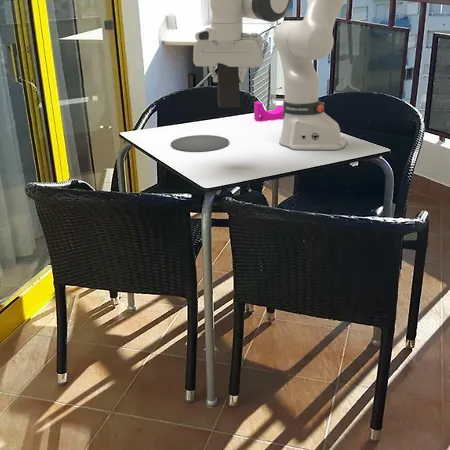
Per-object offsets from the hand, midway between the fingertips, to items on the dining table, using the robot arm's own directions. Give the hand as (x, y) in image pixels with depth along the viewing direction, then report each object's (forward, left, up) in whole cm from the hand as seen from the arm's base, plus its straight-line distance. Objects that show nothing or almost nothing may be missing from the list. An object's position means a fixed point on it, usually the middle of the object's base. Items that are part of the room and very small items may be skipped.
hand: (228, 82), depth 185 cm
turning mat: (+18, -20, -25) cm, 37 cm away
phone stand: (0, +1, -7) cm, 7 cm away
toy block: (+2, -61, -25) cm, 66 cm away
